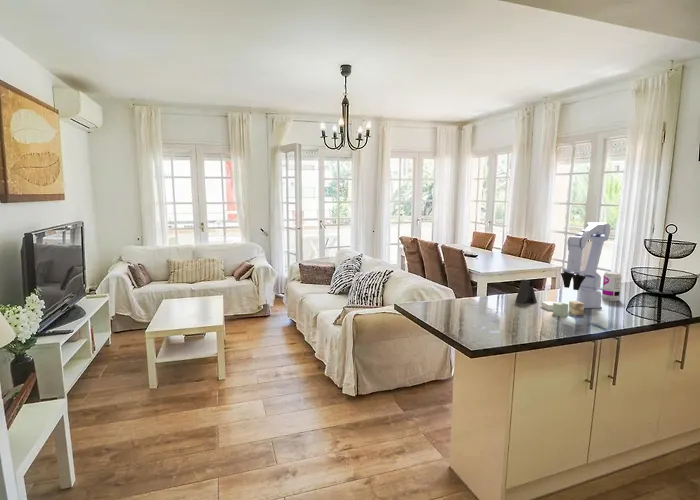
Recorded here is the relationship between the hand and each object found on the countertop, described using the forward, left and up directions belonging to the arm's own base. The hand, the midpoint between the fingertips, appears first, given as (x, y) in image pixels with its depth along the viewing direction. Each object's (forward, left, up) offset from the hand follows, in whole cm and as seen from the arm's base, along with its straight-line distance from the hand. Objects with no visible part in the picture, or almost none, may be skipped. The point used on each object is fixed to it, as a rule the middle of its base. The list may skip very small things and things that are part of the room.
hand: (571, 288), depth 189 cm
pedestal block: (+4, -9, -13) cm, 16 cm away
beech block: (-3, 0, -12) cm, 13 cm away
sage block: (+6, +2, -12) cm, 14 cm away
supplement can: (-38, -25, -12) cm, 47 cm away
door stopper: (+11, -22, -12) cm, 27 cm away
